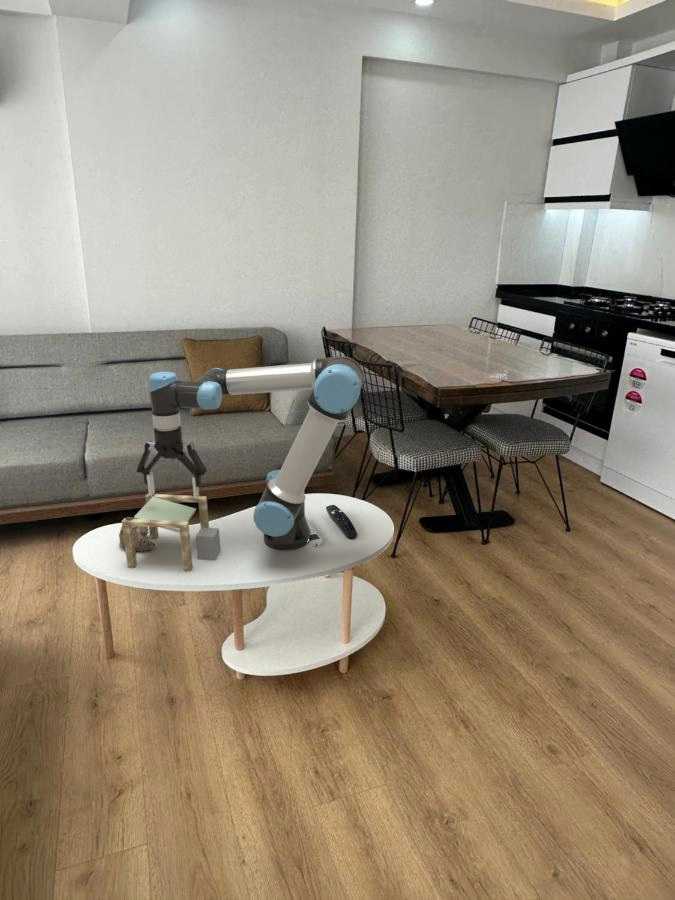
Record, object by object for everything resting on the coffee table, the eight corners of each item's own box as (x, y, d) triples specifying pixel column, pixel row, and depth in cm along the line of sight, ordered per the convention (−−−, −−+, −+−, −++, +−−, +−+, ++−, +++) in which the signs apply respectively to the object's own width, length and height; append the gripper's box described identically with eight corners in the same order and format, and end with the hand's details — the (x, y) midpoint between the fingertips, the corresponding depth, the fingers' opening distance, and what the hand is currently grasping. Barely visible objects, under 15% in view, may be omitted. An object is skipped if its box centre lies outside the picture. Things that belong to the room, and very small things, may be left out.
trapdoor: (194, 518, 189) (196, 508, 187) (178, 540, 176) (180, 530, 174) (151, 506, 189) (152, 496, 187) (132, 527, 176) (133, 517, 174)
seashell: (134, 544, 198) (117, 520, 195) (161, 531, 198) (145, 506, 195) (127, 565, 186) (109, 539, 182) (156, 550, 186) (139, 524, 182)
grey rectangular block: (201, 527, 185) (203, 550, 187) (195, 536, 179) (197, 559, 182) (218, 528, 184) (220, 551, 187) (213, 537, 179) (215, 560, 182)
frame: (209, 539, 194) (206, 494, 188) (190, 571, 176) (185, 523, 170) (152, 536, 195) (147, 492, 190) (127, 567, 178) (121, 519, 172)
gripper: (214, 424, 173) (219, 491, 181) (130, 421, 176) (138, 487, 183) (206, 432, 166) (211, 502, 174) (119, 429, 169) (128, 498, 176)
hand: (174, 495), depth 178 cm, fingers open, 13 cm apart
